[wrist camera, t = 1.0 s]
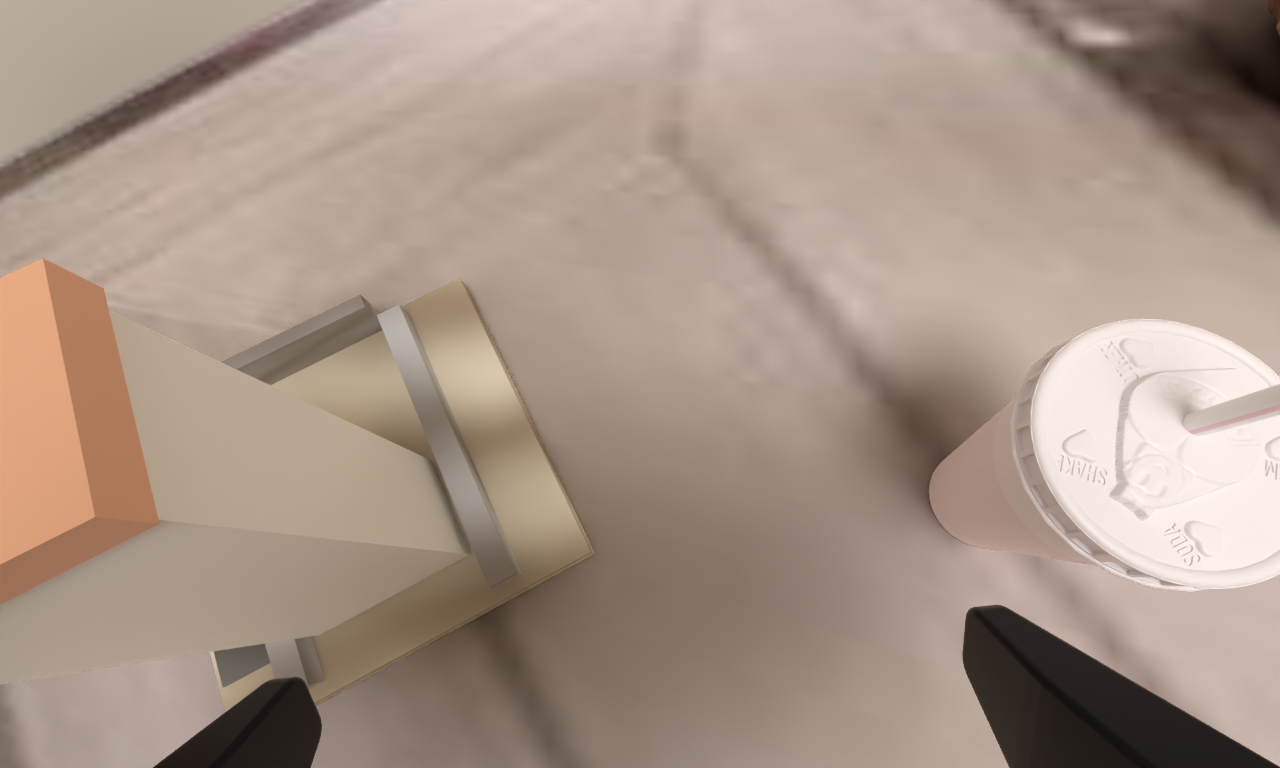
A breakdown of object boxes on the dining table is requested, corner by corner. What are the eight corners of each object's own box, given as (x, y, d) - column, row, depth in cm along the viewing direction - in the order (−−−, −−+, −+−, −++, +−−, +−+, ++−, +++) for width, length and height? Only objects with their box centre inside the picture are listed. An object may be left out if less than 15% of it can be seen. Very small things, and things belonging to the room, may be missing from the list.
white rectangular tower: (477, 556, 22) (95, 516, 8) (315, 643, 21) (-413, 770, 7) (434, 453, 23) (42, 257, 9) (282, 532, 23) (-387, 455, 9)
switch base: (595, 553, 23) (581, 549, 20) (257, 737, 22) (187, 763, 19) (469, 291, 27) (442, 254, 24) (177, 434, 26) (110, 416, 23)
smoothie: (1103, 494, 22) (1712, 372, 9) (1004, 626, 21) (1534, 704, 8) (956, 385, 24) (1291, 148, 11) (857, 501, 23) (1095, 396, 10)
